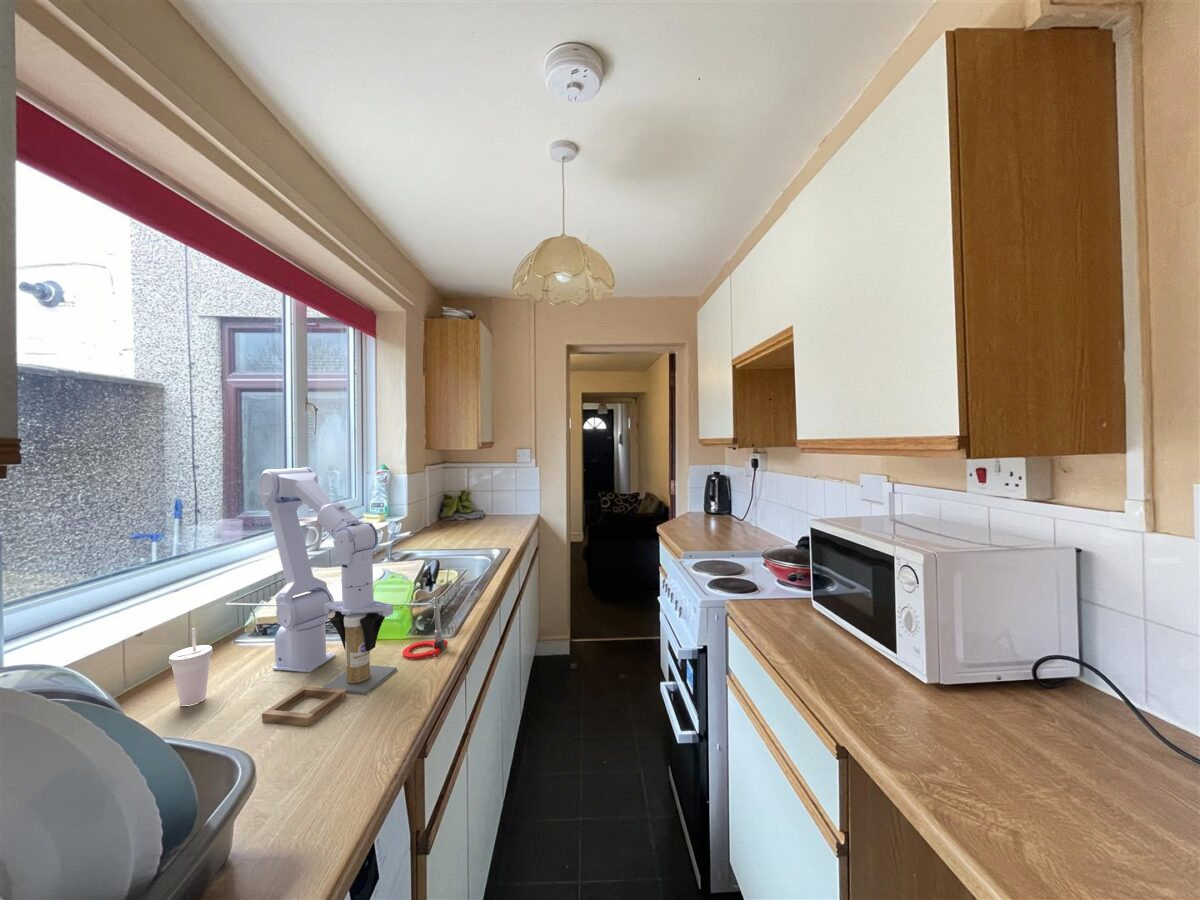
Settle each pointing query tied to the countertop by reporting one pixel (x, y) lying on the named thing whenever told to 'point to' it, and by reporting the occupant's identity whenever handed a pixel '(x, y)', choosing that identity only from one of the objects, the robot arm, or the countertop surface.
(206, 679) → the smoothie
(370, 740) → the countertop surface
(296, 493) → the robot arm
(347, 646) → the sprinkles bottle
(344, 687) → the coaster
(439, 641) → the tow hook
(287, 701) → the collar
